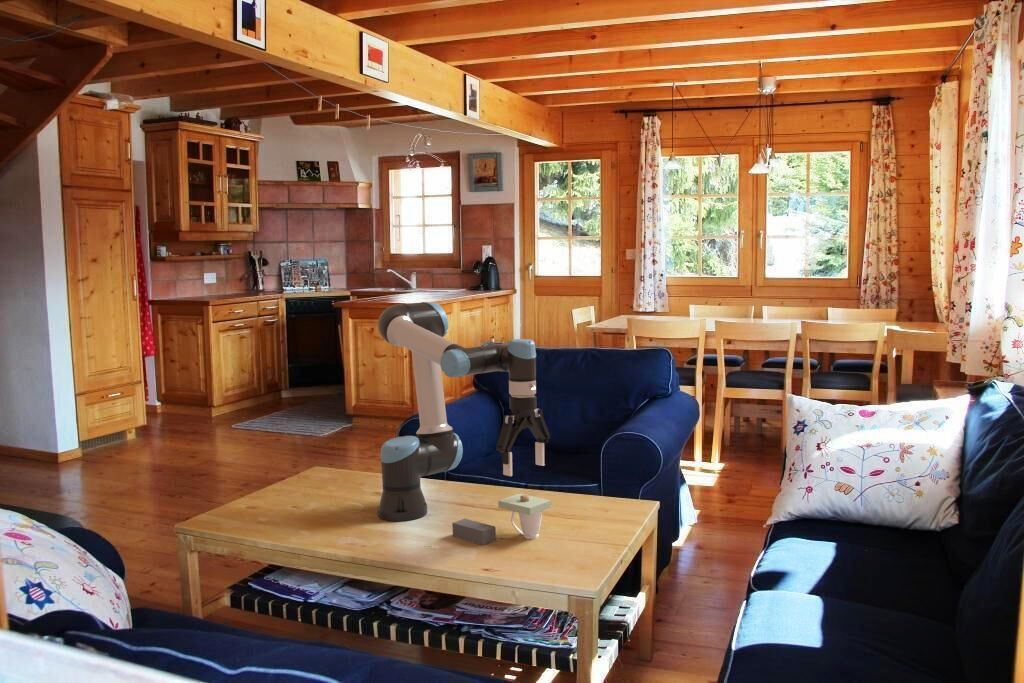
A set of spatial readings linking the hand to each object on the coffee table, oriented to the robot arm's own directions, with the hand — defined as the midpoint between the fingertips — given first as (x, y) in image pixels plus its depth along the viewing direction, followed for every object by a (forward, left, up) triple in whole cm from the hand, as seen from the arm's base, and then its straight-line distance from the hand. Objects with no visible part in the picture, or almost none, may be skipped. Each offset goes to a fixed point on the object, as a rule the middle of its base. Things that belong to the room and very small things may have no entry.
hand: (524, 470), depth 244 cm
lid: (0, 0, -11) cm, 11 cm away
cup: (0, 0, -19) cm, 19 cm away
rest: (-10, -11, -19) cm, 24 cm away
